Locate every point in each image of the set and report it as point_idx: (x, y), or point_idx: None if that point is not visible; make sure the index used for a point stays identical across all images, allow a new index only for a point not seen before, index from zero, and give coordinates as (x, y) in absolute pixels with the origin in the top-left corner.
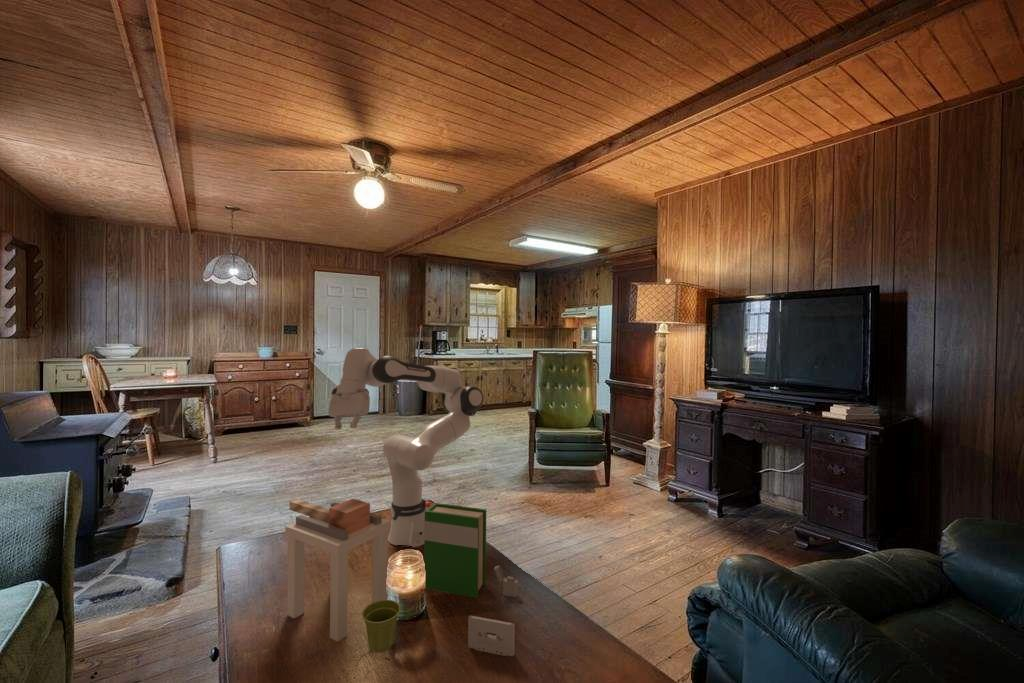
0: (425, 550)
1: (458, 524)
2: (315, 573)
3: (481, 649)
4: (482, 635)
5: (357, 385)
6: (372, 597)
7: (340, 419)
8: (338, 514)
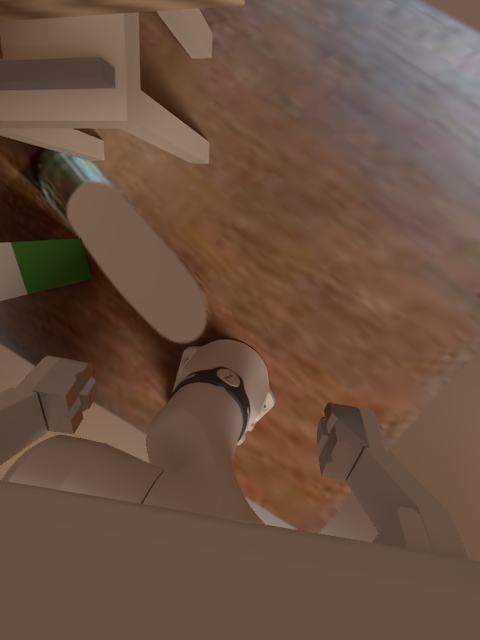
0: (27, 241)
1: None
2: (289, 172)
3: None
4: None
5: None
6: (89, 135)
7: (373, 541)
8: None
